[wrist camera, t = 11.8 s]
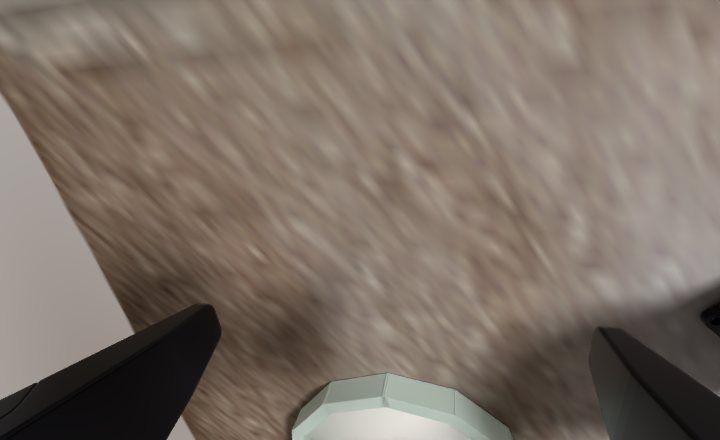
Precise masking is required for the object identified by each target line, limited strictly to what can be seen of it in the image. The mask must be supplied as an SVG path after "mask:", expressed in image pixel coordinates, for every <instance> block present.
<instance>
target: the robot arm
mask: <svg viewBox="0 0 720 440" xmlns="http://www.w3.org/2000/svg"><path fill="white" fill-rule="evenodd" d="M716 317H717V318H716ZM713 318H716V319H714V320H712V319H713ZM700 319H701V320H702V322H703V323H704V324H705V325H706V326H707V327H708V328H709V329H711V330H712V331H713V332H714V333H716V334H717V335H718V336H720V303H718V304H716V305H714V306H713V307H711V308H709V309H707V310H705V311H704V312H703V313H702V314H701V316H700ZM220 337H221V326H220V323H219V320H218V317H217V314H216V311H215V309H214V307H213V306H212V305H210V304H195V305H193V306H190V307H188V308H186V309H184V310H182V311H180V312H178V313H176V314H174V315H172V316H170V317H168V318H166V319H164V320H162V321H160V322H158V323H156V324H154V325H152V326H150V327H148V328H146V329H144V330H142V331H140V332H138V333H136V334H134V335H132V336H130V337H128V338H126V339H124V340H121V341H119V342H117V343H115V344H113V345H111V346H109V347H107V348H105V349H103V350H101V351H99V352H97V353H95V354H93V355H91V356H89V357H87V358H85V359H83V360H81V361H79V362H77V363H75V364H73V365H71V366H69V367H67V368H65V369H63V370H61V371H58V372H56V373H55V374H52V375H50V376H48V377H46V378H44V379H42V380H40V381H39V382H38V383H34V384H32V385H30V386H28V387H26V388H24V389H22V390H20V391H18V392H16V393H14V394H12V395H9V396H8V397H5V398H3V399H1V400H0V440H166V439H167V438H168V436H169V434H170V432H171V431H172V429H173V428H174V426H175V424H176V422H177V421H178V419H179V417H180V416H181V414H182V412H183V411H184V409H185V407H186V405H187V404H188V402H189V400H190V399H191V397H192V395H193V393H194V391H195V389H196V387H197V385H198V383H199V381H200V379H201V377H202V375H203V373H204V371H205V369H206V367H207V365H208V362H209V360H210V358H211V356H212V354H213V352H214V350H215V348H216V346H217V343H218V341H219V339H220ZM589 365H590V370H591V374H592V377H593V381H594V384H595V388H596V392H597V395H598V399H599V402H600V406H601V409H602V413H603V417H604V420H605V424H606V427H607V431H608V434H609V438H610V440H720V397H719V396H717V395H716V394H714V393H713V392H712V391H710V390H709V389H707V388H706V387H704V386H703V385H702V384H700V383H699V382H697V381H696V380H694V379H693V378H692V377H690V376H689V375H687V374H686V373H685V372H683V371H682V370H680V369H679V368H677V367H676V366H675V365H673V364H672V363H670V362H669V361H667V360H666V359H665V358H663V357H662V356H660V355H659V354H657V353H656V352H655V351H653V350H652V349H650V348H649V347H647V346H646V345H645V344H643V343H642V342H640V341H639V340H637V339H636V338H635V337H633V336H632V335H630V334H629V333H627V332H626V331H625V330H623V329H621V328H619V327H609V326H598V327H596V328H595V330H594V333H593V338H592V343H591V349H590V354H589Z"/></svg>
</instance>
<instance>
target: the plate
mask: <svg viewBox="0 0 720 440" xmlns="http://www.w3.org/2000/svg"><path fill="white" fill-rule="evenodd" d="M292 440H513V438H512V435H511V433H510V430H509V428H508V427H507V426H505V425H504V424H503V423H501V422H500V421H498V420H497V419H496V418H494V417H493V416H491V415H490V414H489V413H487V412H486V411H485V410H483V409H482V408H480V407H479V406H478V405H476V404H475V403H473V402H472V401H471V400H469V399H468V398H466V397H465V396H464V395H462V394H461V393H459V392H458V391H457V390H455V389H451V388H447V387H443V386H438V385H434V384H430V383H426V382H422V381H418V380H414V379H410V378H406V377H402V376H398V375H394V374H390V373H385V374H378V375H372V376H365V377H358V378H352V379H345V380H339V381H331V382H330V383H329V384H328V385H327V386H326V387H325V388H324V389H323V390H322V391H321V392H319V393H318V394H317V395H316V396H315V397H314V398H313V399H312V400H311V401H310V402H308V403H307V404H306V405H305V406H304V407H303V408H301V410H300V413H299V415H298V418H297V420H296V422H295V425H294V427H293V429H292Z"/></svg>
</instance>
